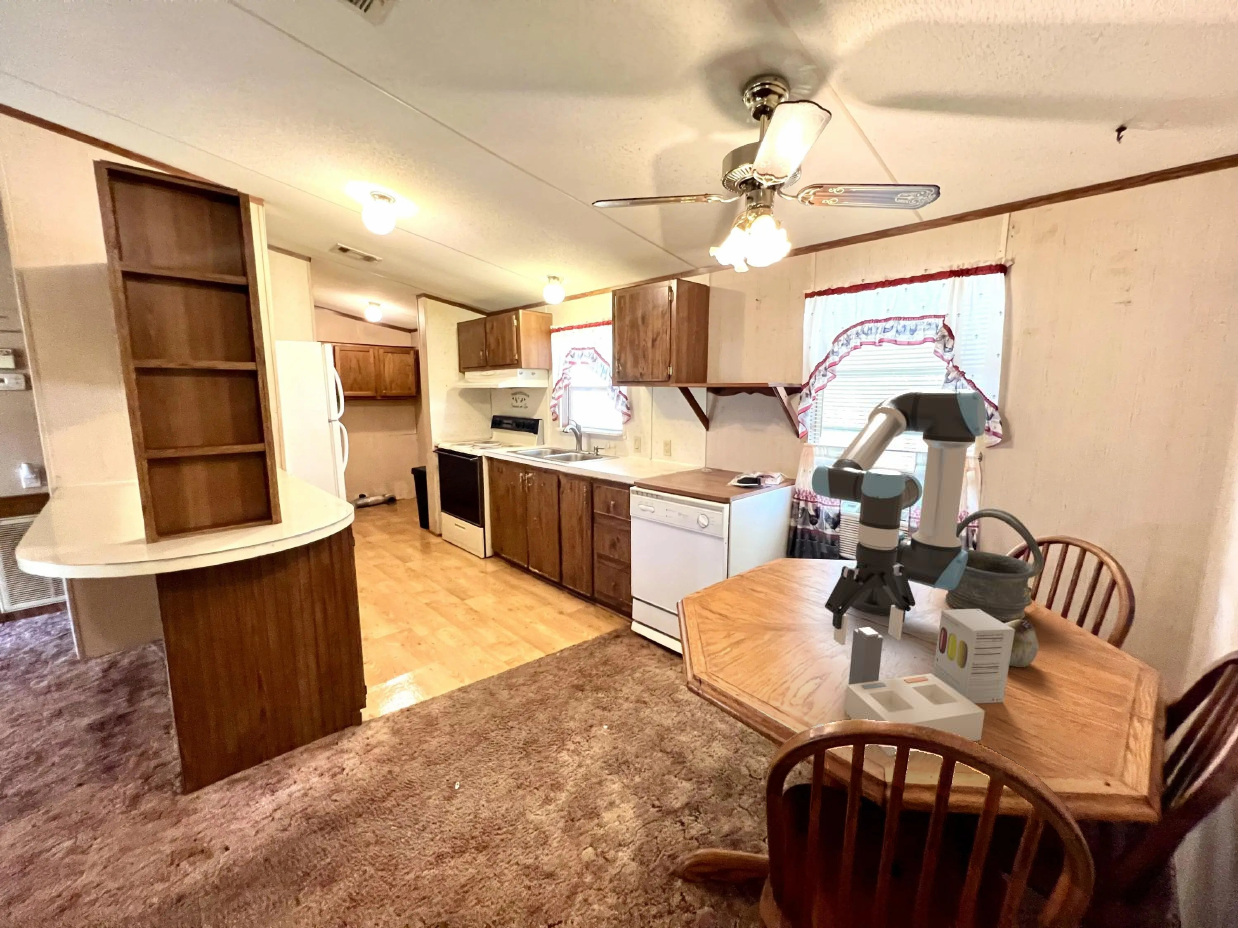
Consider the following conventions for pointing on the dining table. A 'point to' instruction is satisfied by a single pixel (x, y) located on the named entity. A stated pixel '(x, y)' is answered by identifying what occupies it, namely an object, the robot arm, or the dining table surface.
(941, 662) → the supplement box
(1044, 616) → the dining table surface
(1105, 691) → the dining table surface
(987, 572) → the clay pot
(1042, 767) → the dining table surface
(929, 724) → the socket block
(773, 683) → the dining table surface
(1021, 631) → the fruit
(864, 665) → the plug
